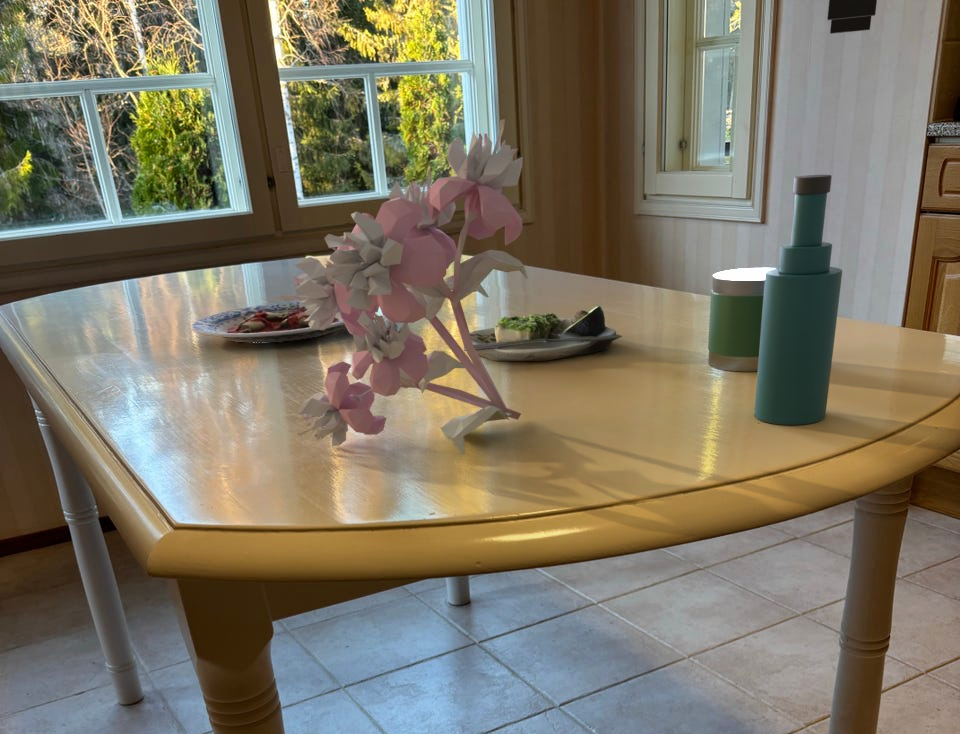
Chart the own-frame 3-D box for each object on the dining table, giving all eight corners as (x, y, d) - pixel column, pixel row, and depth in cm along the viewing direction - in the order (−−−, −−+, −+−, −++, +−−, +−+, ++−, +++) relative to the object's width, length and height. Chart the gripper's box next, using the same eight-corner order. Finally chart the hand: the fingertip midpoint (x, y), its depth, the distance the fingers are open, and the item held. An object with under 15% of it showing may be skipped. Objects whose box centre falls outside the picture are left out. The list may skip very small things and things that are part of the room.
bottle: (827, 407, 83) (854, 171, 74) (823, 426, 78) (852, 176, 69) (758, 405, 85) (776, 175, 76) (750, 423, 80) (768, 180, 71)
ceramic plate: (363, 344, 123) (360, 320, 121) (171, 356, 124) (166, 333, 122) (381, 310, 145) (379, 290, 144) (219, 321, 146) (215, 301, 145)
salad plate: (499, 376, 102) (497, 333, 100) (428, 351, 116) (425, 313, 113) (641, 348, 109) (642, 307, 107) (558, 328, 123) (557, 292, 121)
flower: (418, 374, 98) (298, 142, 81) (609, 366, 86) (515, 90, 68) (322, 509, 89) (164, 280, 72) (520, 523, 77) (386, 249, 59)
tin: (793, 354, 102) (801, 267, 98) (785, 372, 95) (794, 280, 91) (713, 353, 105) (718, 268, 101) (701, 371, 98) (705, 281, 94)
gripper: (830, -329, 63) (798, 40, 73) (823, -537, 43) (781, 17, 53) (951, -355, 61) (901, 31, 71) (1007, -588, 40) (925, 2, 50)
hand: (850, 26), depth 62 cm, fingers open, 13 cm apart
